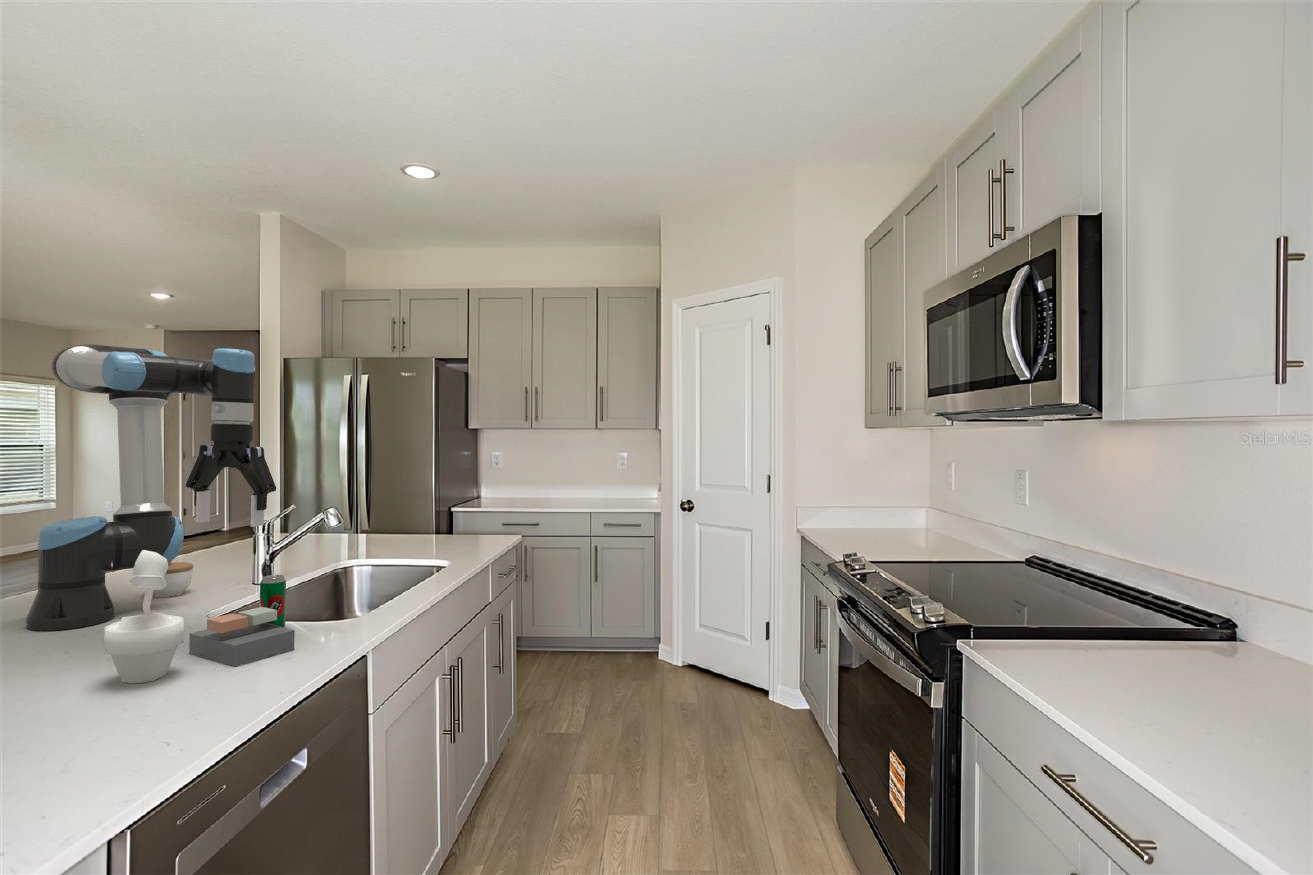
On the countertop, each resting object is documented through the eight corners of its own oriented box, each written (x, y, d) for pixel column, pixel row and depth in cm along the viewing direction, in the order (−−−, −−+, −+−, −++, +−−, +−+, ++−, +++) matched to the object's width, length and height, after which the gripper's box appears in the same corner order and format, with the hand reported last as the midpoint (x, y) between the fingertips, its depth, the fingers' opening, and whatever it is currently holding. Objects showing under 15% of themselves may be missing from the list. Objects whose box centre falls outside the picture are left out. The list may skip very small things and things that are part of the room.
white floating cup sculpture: (113, 671, 123) (116, 535, 123) (190, 663, 128) (192, 532, 128) (89, 696, 112) (91, 545, 112) (173, 687, 116) (176, 542, 116)
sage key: (238, 621, 137) (238, 612, 137) (262, 616, 142) (262, 606, 142) (252, 625, 135) (253, 615, 135) (276, 619, 139) (277, 610, 139)
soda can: (290, 627, 153) (291, 574, 153) (275, 634, 148) (276, 579, 148) (269, 626, 153) (270, 573, 153) (253, 633, 148) (254, 578, 148)
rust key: (206, 629, 132) (207, 619, 132) (233, 623, 136) (233, 613, 136) (222, 633, 130) (222, 622, 130) (247, 626, 134) (248, 616, 134)
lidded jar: (202, 592, 184) (202, 558, 184) (161, 601, 174) (161, 565, 174) (175, 588, 188) (175, 555, 188) (133, 597, 178) (134, 561, 178)
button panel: (189, 653, 134) (189, 632, 134) (249, 638, 144) (249, 618, 144) (234, 666, 127) (234, 644, 127) (294, 649, 137) (294, 629, 137)
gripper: (167, 420, 140) (164, 522, 141) (269, 424, 135) (266, 530, 135) (198, 421, 148) (196, 518, 148) (296, 425, 142) (293, 525, 143)
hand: (229, 524), depth 142 cm, fingers open, 13 cm apart
